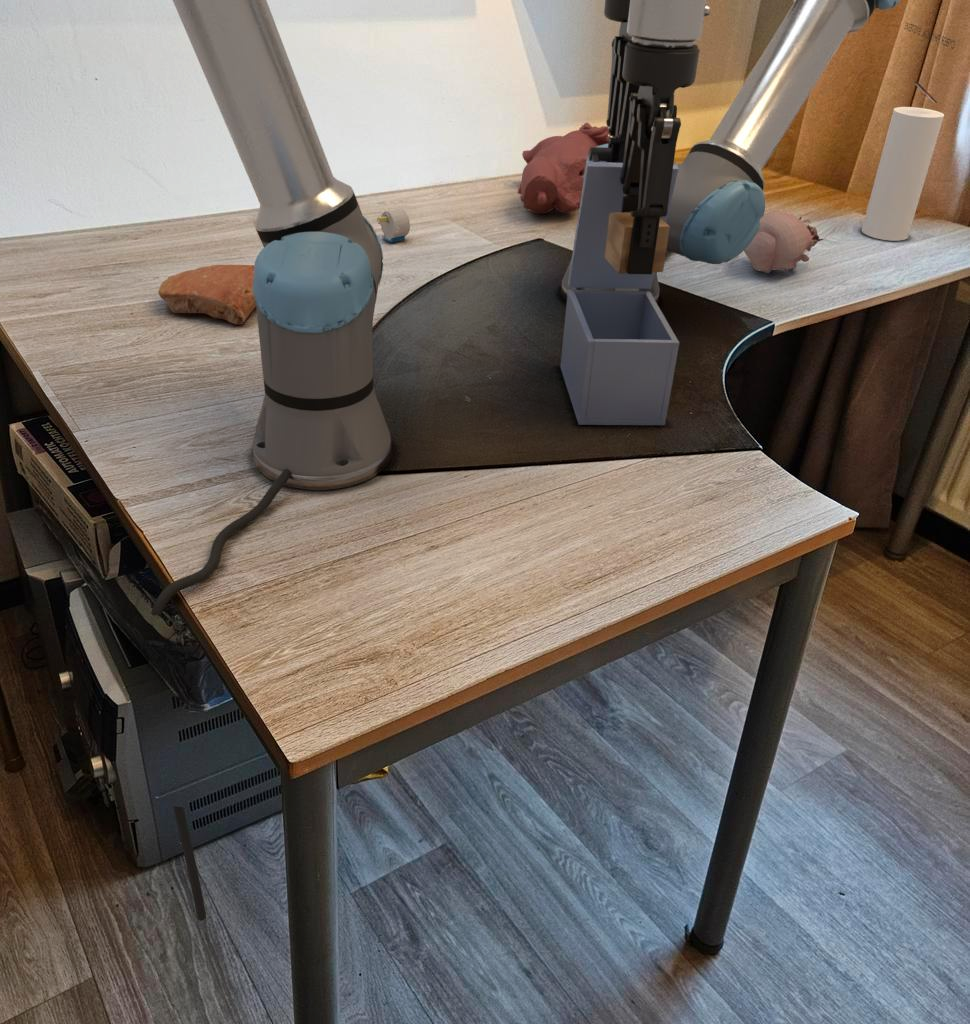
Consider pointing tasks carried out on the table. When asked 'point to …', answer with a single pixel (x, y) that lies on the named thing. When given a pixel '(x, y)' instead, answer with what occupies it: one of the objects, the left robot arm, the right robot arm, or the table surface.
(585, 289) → the right robot arm
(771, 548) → the table surface
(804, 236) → the toy
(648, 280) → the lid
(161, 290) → the ceramic shard
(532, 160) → the fabric sculpture
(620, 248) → the block
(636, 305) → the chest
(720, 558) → the table surface
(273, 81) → the left robot arm
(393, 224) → the electric motor
